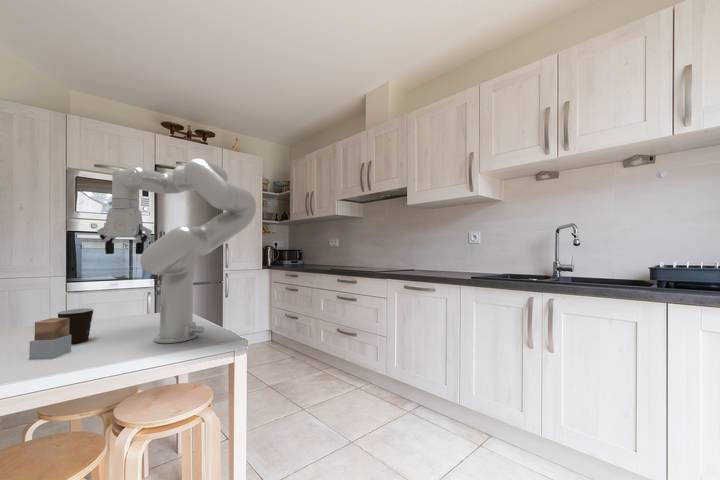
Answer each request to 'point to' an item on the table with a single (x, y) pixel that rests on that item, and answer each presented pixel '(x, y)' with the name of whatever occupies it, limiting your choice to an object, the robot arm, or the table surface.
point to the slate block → (49, 348)
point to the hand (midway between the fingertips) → (124, 254)
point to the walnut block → (51, 328)
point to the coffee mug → (78, 323)
